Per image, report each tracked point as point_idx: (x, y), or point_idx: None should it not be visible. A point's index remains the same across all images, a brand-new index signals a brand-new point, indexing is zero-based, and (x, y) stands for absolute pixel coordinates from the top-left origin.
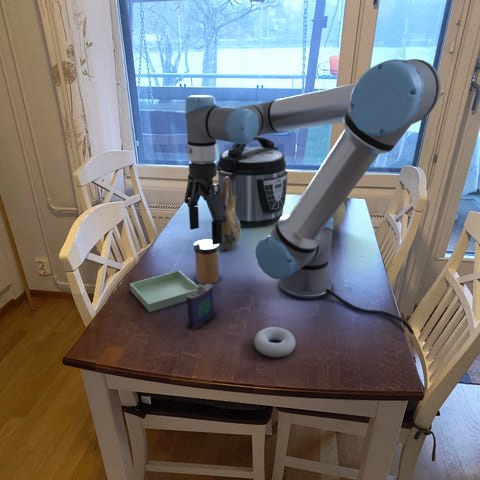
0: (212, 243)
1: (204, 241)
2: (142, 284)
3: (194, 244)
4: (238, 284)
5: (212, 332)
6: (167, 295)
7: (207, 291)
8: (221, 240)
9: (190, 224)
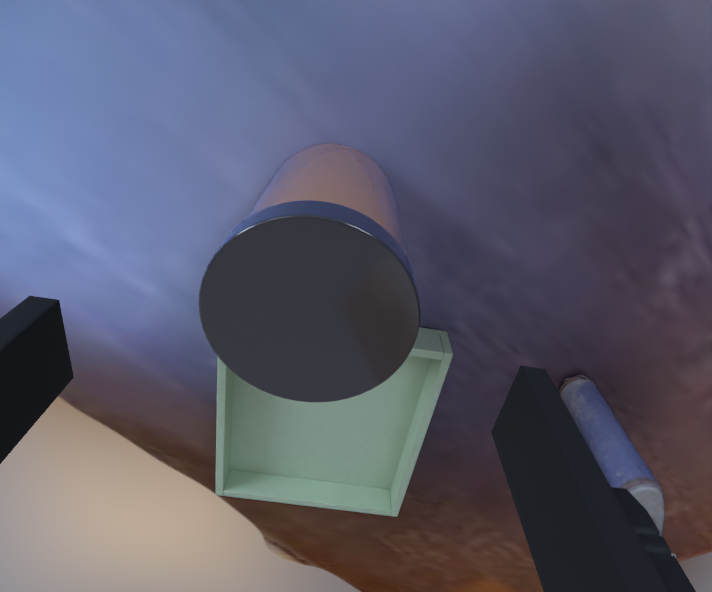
0: (496, 437)
1: (248, 297)
2: (228, 451)
3: (253, 380)
4: (509, 123)
5: (652, 435)
6: (352, 420)
7: (664, 518)
8: (555, 391)
9: (32, 416)
